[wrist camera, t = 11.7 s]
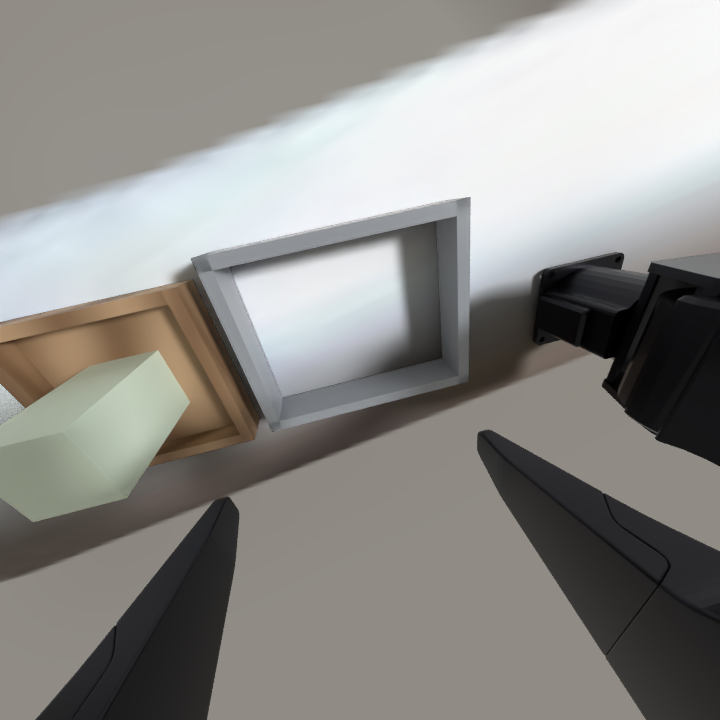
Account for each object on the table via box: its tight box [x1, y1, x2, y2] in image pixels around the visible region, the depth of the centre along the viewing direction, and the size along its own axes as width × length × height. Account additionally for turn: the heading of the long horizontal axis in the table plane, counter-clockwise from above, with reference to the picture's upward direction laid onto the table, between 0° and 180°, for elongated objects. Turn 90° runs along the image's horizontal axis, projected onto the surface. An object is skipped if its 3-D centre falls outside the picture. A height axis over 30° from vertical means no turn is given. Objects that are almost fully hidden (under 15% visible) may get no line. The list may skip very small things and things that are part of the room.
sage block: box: [0, 350, 190, 522], centre depth 16 cm, size 4×4×8 cm
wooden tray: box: [0, 279, 260, 467], centre depth 19 cm, size 12×12×2 cm
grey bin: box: [191, 197, 470, 432], centre depth 19 cm, size 16×13×3 cm
